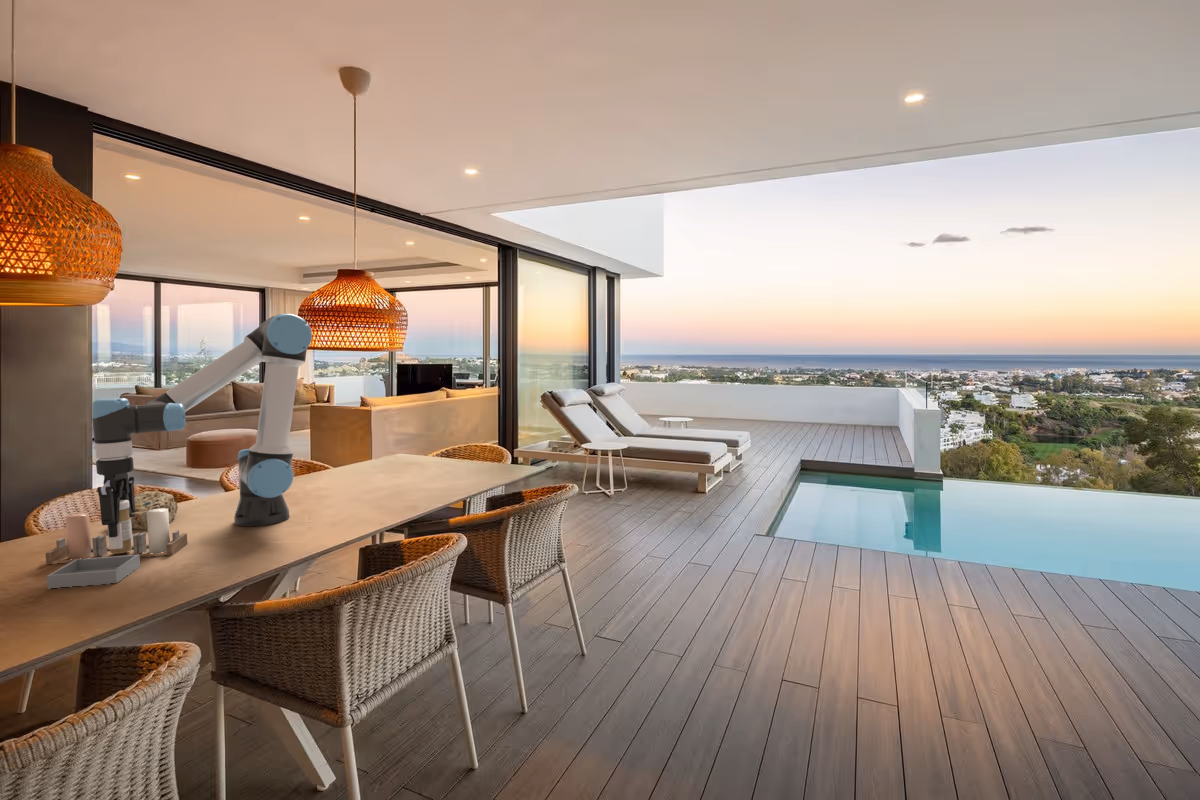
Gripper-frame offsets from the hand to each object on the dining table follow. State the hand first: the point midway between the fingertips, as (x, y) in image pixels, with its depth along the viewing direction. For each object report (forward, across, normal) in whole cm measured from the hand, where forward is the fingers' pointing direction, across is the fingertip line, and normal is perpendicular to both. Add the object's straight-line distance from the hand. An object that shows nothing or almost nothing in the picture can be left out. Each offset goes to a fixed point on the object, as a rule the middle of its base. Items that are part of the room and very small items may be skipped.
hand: (121, 545), depth 158 cm
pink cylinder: (+2, 0, -9) cm, 10 cm away
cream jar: (+2, 0, +9) cm, 9 cm away
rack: (+2, 0, 0) cm, 2 cm away
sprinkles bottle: (+2, 0, 0) cm, 2 cm away
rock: (+3, -33, -7) cm, 34 cm away
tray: (+2, +18, +3) cm, 18 cm away
